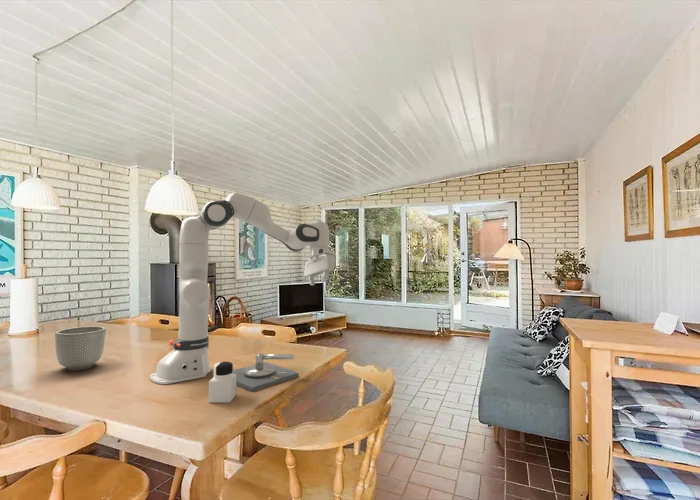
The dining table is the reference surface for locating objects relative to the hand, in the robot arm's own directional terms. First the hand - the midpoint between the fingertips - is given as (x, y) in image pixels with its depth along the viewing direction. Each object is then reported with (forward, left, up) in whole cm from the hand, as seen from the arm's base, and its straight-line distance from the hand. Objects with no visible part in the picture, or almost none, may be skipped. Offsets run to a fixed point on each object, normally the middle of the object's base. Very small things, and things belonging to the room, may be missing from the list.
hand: (318, 283), depth 165 cm
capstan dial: (-27, 0, -34) cm, 44 cm away
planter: (-74, +67, -36) cm, 106 cm away
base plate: (-30, +2, -36) cm, 47 cm away
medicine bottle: (-51, -7, -36) cm, 63 cm away
